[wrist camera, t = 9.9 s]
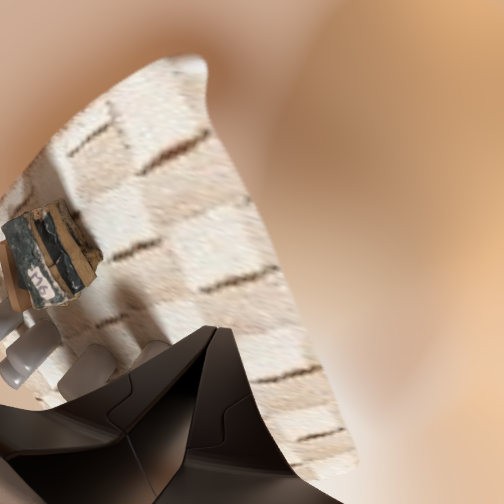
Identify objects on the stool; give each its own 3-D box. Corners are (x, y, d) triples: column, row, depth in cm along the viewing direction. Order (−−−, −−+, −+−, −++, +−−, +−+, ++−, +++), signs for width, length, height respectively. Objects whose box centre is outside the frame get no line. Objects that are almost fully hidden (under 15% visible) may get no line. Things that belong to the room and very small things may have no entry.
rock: (20, 222, 23) (-21, 239, 18) (81, 188, 21) (33, 202, 16) (52, 301, 26) (17, 329, 20) (117, 285, 24) (81, 318, 18)
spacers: (185, 402, 27) (168, 447, 22) (21, 353, 29) (-5, 378, 24) (177, 334, 24) (151, 381, 19) (2, 295, 26) (-31, 318, 21)
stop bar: (38, 300, 26) (21, 313, 23) (30, 297, 26) (12, 310, 23) (25, 235, 23) (5, 244, 20) (17, 234, 23) (-4, 243, 21)
